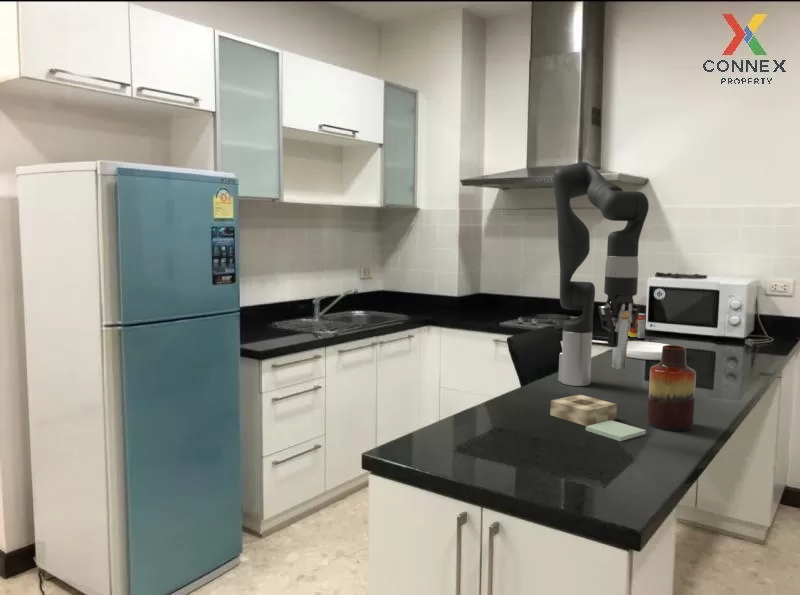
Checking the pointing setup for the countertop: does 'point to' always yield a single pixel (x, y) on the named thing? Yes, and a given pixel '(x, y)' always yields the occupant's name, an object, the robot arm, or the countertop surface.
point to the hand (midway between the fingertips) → (617, 345)
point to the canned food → (638, 327)
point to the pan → (642, 350)
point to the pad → (615, 430)
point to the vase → (671, 391)
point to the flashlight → (621, 343)
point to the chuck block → (583, 410)
